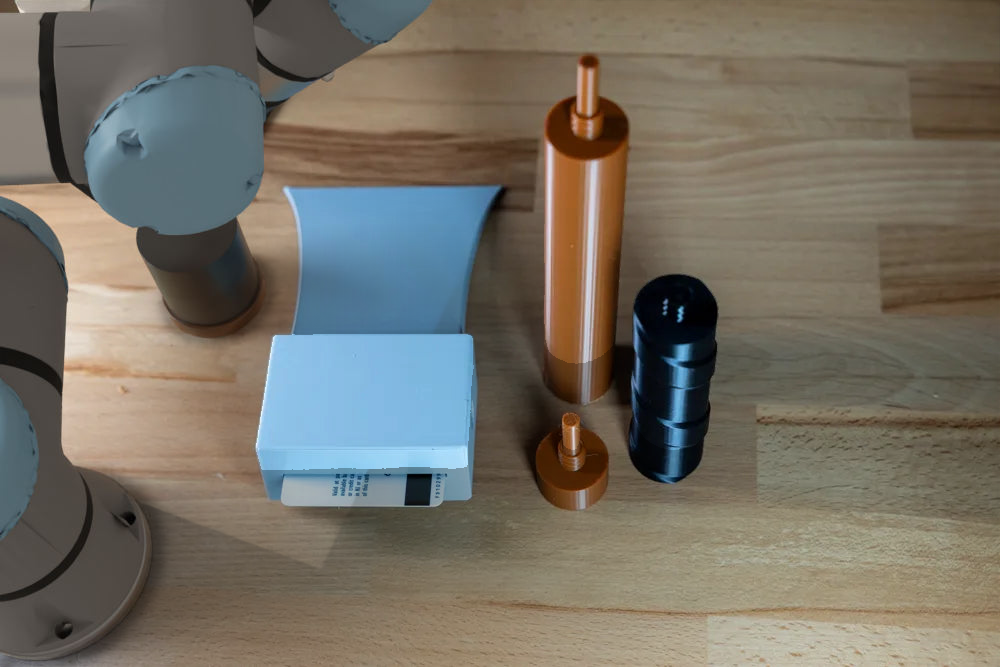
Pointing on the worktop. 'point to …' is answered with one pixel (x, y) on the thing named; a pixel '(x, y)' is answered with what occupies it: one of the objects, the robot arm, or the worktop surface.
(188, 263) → the dark grey cylinder
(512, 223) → the worktop surface
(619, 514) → the worktop surface
